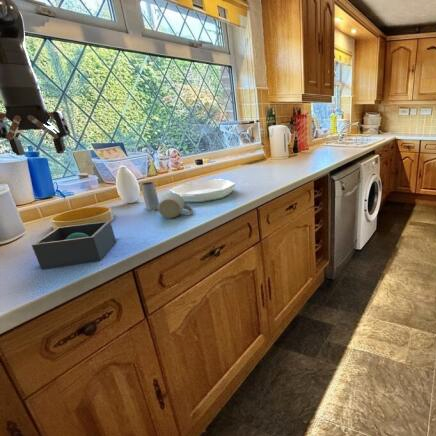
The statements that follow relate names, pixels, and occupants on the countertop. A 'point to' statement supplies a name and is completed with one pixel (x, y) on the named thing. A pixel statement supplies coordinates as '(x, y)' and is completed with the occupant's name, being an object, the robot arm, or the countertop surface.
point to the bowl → (82, 216)
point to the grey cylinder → (150, 195)
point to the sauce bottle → (127, 185)
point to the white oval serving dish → (204, 190)
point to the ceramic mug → (173, 206)
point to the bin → (74, 245)
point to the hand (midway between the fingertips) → (41, 154)
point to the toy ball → (76, 236)
